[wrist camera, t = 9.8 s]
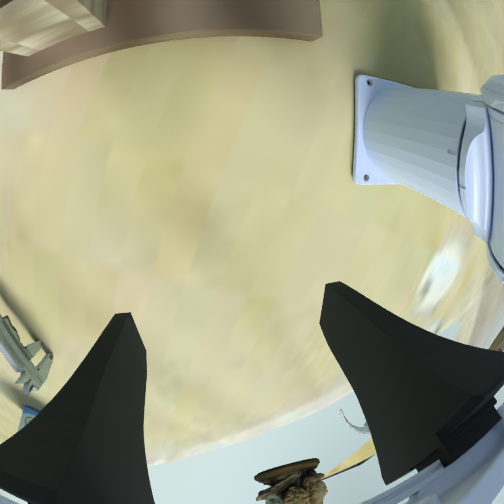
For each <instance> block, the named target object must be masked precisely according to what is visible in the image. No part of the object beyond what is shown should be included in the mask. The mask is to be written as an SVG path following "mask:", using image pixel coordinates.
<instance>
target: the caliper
mask: <svg viewBox="0 0 504 504" xmlns="http://www.w3.org/2000/svg"><path fill="white" fill-rule="evenodd" d="M42 345H43V343H42V342H41V340H39V341H36V342H34V343H32V344H29V345H27V346H25V347H24V346H23V345H22V344H21V342H20V338H19V335H18V333H17V330H16V329H15V328H14V327H13V326H12V324H11V322H10V319H9V317H8V316H5V317H3V318H2V317H1V315H0V351H1V352H2V354H3V355H4V357H5V358H6V360H7V361H8V362H9V364H10V365H11V366H12V368H13V369H14V370H15V372H21V374H20V375H21V376H20V377H19V378H18V380H17V381H16V382H15V384H22V383H24V387H23V393H24V394H29V393H30V392H31V390H32V391H38V390H39V389H40V387H41V386H42V384H43V383H44V382H45V380H46V379H47V376H48V373H49V370H50V367H51V364H52V361H53V354H52V353H48V354H46V355H45V356H44V358H43V359H42V360H41V361H40V363H39V364H38V365H37V366H36V367H35V366H34V364H33V363H32V362H31V361H30V360H31V358H33V357H34V356H35V354H36V353H37V352H38V351H39V350H40V348H41V346H42Z"/></svg>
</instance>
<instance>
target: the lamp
mask: <svg viewBox="0 0 504 504" xmlns="http://www.w3.org/2000/svg"><path fill="white" fill-rule="evenodd" d="M489 350H496V351H504V328H503V330H502V331H501V332H500V334H499V335H498V336H497V338H496V339H495V341H494V342H493V344H492V345H491V347H490V349H489Z"/></svg>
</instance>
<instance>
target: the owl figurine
mask: <svg viewBox="0 0 504 504" xmlns="http://www.w3.org/2000/svg"><path fill="white" fill-rule="evenodd" d="M319 463H320V461H319V459H317V458H312V459H306V460H302V461H298V462H294V463H290V464H286V465H282V466H279V467H275V468H272V469H268V470H266V471H263V472H261V473H258V474H257V475H256V476H255V477H254V479H255V480H256V481H258V482H260V483H263V484H264V485H270V486H271V487H270V488H268V489H265V490H262V491H260V492H259V493H258V494H259V495H258V497H257V498H256V501H260V500H265V499H266V504H323V499H324V496H325V495H326V494H327V492H328V490H327V487H326V486H325V483H324V482H323V481H322V480H321V478H324V477H325V475H324V474H322V473H318V474H317V473H316V471H315V470H314V469H316V468H317V466H318V464H319Z"/></svg>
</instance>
